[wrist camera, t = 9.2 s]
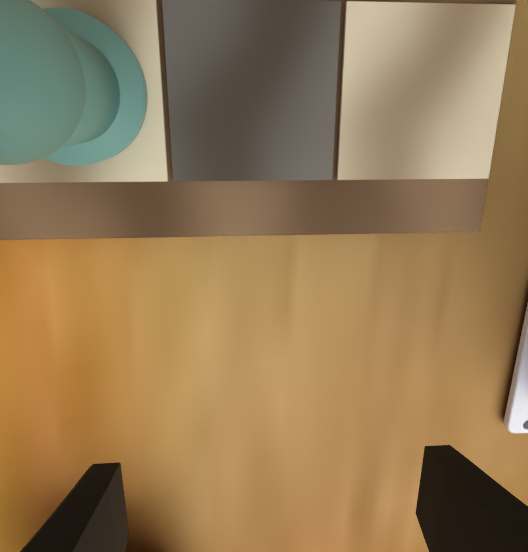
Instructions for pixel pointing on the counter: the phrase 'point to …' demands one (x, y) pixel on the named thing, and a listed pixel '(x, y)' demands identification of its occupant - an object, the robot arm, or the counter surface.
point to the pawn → (65, 87)
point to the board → (286, 122)
